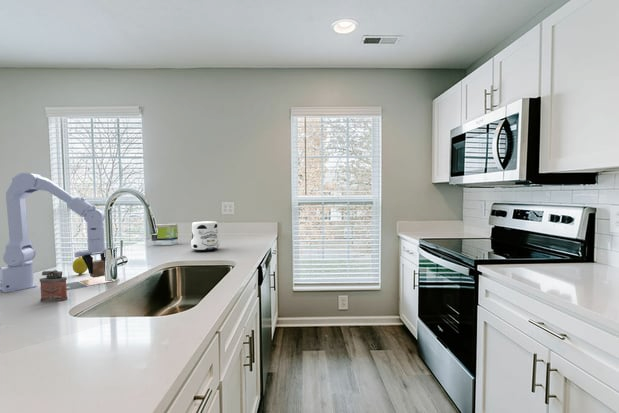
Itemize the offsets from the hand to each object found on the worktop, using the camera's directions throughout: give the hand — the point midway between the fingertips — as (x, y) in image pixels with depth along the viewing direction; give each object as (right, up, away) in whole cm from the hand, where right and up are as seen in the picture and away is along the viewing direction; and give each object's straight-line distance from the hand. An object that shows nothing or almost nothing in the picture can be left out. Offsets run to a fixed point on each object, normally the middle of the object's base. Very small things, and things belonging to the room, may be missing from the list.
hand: (97, 272), depth 131 cm
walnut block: (0, -2, 0) cm, 2 cm away
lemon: (-16, -4, +13) cm, 20 cm away
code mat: (-7, -4, -9) cm, 12 cm away
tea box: (-19, -1, +105) cm, 106 cm away
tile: (0, -4, 0) cm, 4 cm away
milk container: (+20, -2, +75) cm, 78 cm away
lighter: (+1, -5, -24) cm, 24 cm away
